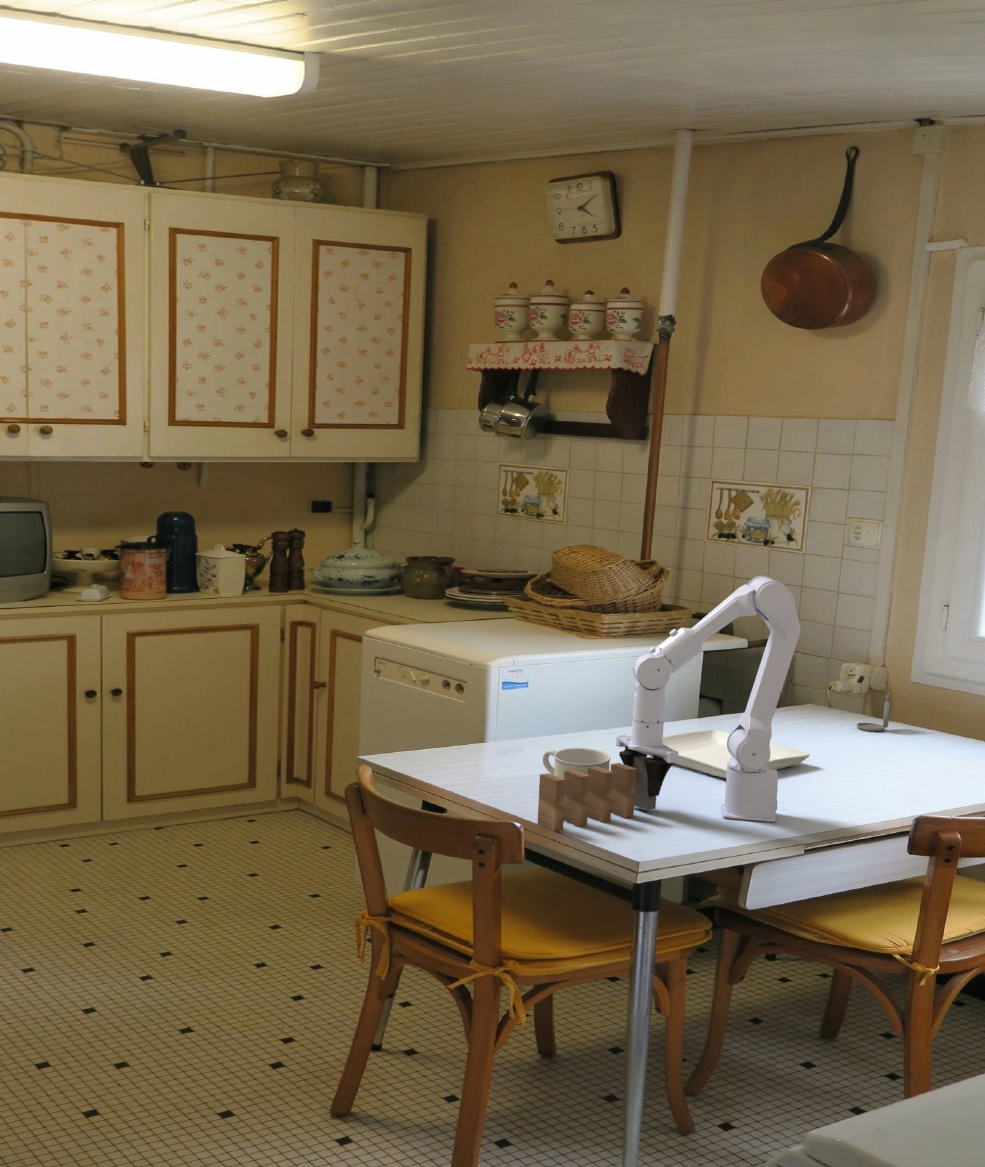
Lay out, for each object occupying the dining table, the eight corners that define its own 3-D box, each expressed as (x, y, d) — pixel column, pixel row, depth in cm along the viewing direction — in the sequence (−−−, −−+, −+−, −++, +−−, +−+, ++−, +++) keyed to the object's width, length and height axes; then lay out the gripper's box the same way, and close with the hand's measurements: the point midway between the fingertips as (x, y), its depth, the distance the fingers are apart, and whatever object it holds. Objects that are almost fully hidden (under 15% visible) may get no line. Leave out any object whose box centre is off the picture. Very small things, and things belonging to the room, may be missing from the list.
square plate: (632, 758, 276) (633, 741, 275) (712, 743, 293) (713, 727, 293) (731, 787, 255) (732, 768, 255) (811, 769, 273) (812, 751, 273)
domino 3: (593, 814, 230) (596, 766, 229) (610, 821, 226) (613, 772, 226) (585, 816, 229) (587, 767, 228) (602, 822, 225) (604, 773, 224)
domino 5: (638, 802, 237) (641, 755, 236) (655, 809, 233) (658, 761, 232) (630, 804, 235) (633, 756, 234) (647, 810, 232) (650, 762, 231)
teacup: (619, 797, 243) (622, 756, 242) (582, 806, 235) (584, 764, 235) (566, 781, 253) (568, 742, 252) (528, 789, 245) (530, 749, 244)
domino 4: (616, 810, 233) (619, 762, 232) (633, 817, 230) (636, 768, 229) (608, 812, 232) (610, 764, 231) (625, 818, 229) (627, 769, 228)
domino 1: (546, 823, 224) (548, 773, 223) (562, 830, 220) (565, 779, 219) (537, 824, 222) (539, 774, 221) (553, 831, 219) (556, 780, 218)
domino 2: (570, 818, 227) (573, 769, 226) (587, 825, 223) (589, 775, 222) (561, 820, 226) (564, 771, 225) (578, 827, 222) (581, 777, 221)
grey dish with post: (851, 726, 318) (854, 687, 317) (881, 726, 320) (884, 687, 319) (868, 734, 310) (871, 693, 309) (899, 733, 312) (902, 693, 311)
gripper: (605, 714, 236) (601, 785, 237) (659, 730, 224) (655, 805, 226) (633, 711, 240) (629, 781, 242) (688, 726, 229) (683, 800, 230)
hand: (643, 792), depth 234 cm, fingers closed on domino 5, 4 cm apart
